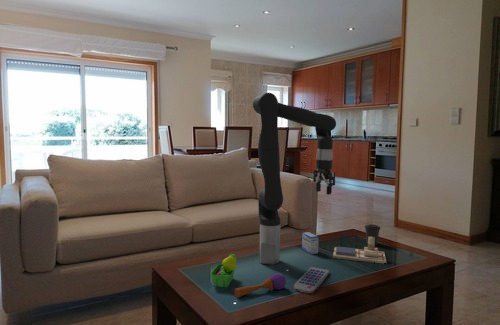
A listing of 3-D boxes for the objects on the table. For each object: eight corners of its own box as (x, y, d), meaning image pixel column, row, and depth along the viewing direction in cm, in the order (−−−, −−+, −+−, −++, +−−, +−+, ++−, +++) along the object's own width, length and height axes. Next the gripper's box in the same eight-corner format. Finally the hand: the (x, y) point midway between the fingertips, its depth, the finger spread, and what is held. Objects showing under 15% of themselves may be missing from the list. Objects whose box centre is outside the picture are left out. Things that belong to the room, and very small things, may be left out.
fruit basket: (218, 275, 144) (218, 248, 143) (239, 277, 143) (239, 250, 142) (210, 287, 133) (210, 258, 132) (233, 289, 132) (233, 260, 131)
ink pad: (355, 256, 166) (355, 254, 166) (335, 254, 168) (335, 251, 168) (355, 250, 174) (355, 248, 174) (336, 248, 177) (336, 246, 177)
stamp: (377, 257, 164) (378, 239, 164) (364, 256, 166) (365, 238, 165) (377, 253, 170) (377, 236, 169) (364, 252, 172) (364, 235, 171)
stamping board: (386, 263, 160) (386, 261, 160) (332, 258, 166) (333, 255, 166) (384, 253, 173) (384, 251, 173) (334, 248, 180) (334, 246, 180)
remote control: (329, 274, 148) (329, 269, 148) (312, 296, 128) (312, 290, 128) (310, 271, 152) (311, 266, 152) (291, 291, 132) (291, 285, 132)
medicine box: (301, 249, 178) (302, 232, 177) (309, 248, 180) (309, 231, 179) (310, 254, 171) (311, 237, 170) (318, 253, 173) (318, 235, 172)
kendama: (232, 283, 128) (279, 270, 137) (234, 299, 128) (281, 285, 137) (238, 286, 123) (287, 272, 132) (240, 303, 123) (289, 289, 131)
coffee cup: (364, 245, 186) (365, 226, 185) (363, 240, 194) (364, 222, 193) (380, 246, 184) (381, 227, 183) (379, 242, 192) (379, 223, 191)
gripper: (309, 157, 172) (308, 191, 173) (326, 160, 159) (325, 195, 160) (322, 157, 175) (321, 190, 176) (340, 159, 162) (339, 194, 163)
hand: (323, 192), depth 168 cm, fingers open, 8 cm apart
